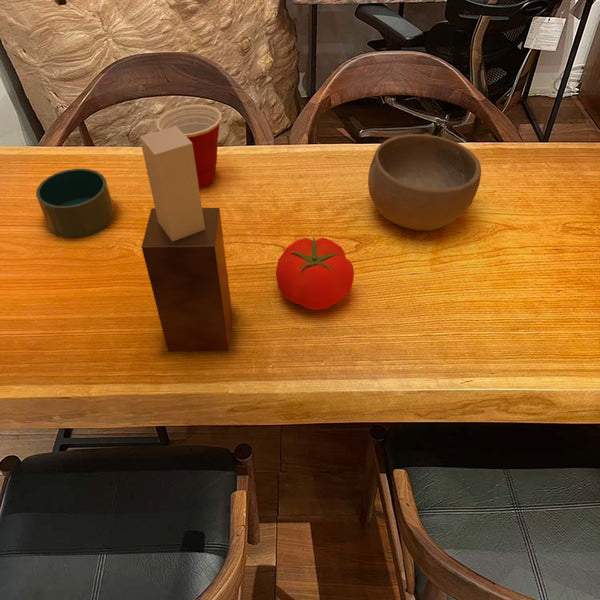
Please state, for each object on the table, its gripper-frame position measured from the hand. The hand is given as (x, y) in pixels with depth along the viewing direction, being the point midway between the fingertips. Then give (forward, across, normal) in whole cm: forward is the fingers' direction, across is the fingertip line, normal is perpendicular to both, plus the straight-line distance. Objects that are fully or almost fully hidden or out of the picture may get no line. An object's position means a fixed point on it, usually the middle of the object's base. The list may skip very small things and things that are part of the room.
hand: (12, 12), depth 52 cm
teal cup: (+40, -3, -24) cm, 47 cm away
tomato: (+40, -26, +11) cm, 49 cm away
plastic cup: (+40, -24, -24) cm, 53 cm away
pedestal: (+40, -9, +9) cm, 42 cm away
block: (+22, -9, +9) cm, 25 cm away
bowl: (+40, -51, +4) cm, 65 cm away
